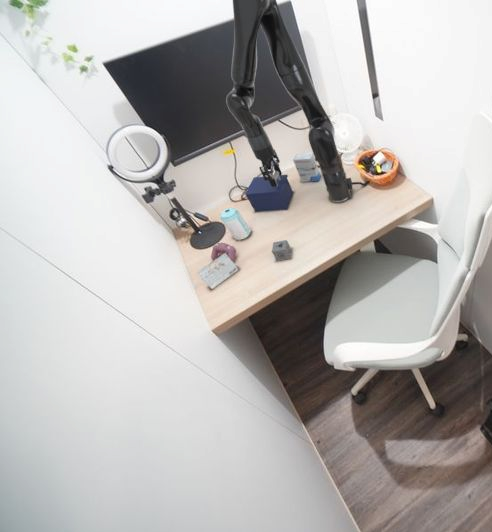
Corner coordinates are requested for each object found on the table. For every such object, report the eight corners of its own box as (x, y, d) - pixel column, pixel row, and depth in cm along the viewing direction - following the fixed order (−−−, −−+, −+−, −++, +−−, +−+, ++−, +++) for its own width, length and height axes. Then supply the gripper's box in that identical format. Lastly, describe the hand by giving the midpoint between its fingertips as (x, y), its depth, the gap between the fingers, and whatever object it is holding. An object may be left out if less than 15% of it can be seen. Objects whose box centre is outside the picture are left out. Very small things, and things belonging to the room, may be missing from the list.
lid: (288, 175, 140) (283, 165, 137) (281, 192, 133) (276, 182, 129) (254, 178, 142) (249, 169, 138) (245, 195, 134) (240, 185, 130)
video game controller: (240, 260, 124) (237, 244, 121) (230, 265, 120) (227, 247, 117) (220, 256, 127) (217, 239, 124) (210, 260, 123) (206, 243, 120)
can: (230, 239, 130) (214, 217, 121) (241, 227, 134) (226, 205, 125) (244, 241, 128) (229, 219, 119) (254, 230, 133) (240, 207, 123)
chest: (293, 192, 147) (286, 176, 141) (287, 209, 139) (279, 192, 133) (263, 195, 148) (254, 179, 142) (255, 212, 141) (246, 195, 134)
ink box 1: (208, 286, 115) (192, 269, 107) (235, 267, 120) (222, 249, 112) (212, 290, 113) (196, 272, 106) (239, 270, 118) (225, 252, 111)
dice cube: (290, 258, 120) (285, 249, 116) (277, 260, 120) (271, 251, 116) (291, 249, 123) (286, 239, 119) (278, 251, 123) (273, 242, 119)
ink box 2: (321, 175, 154) (313, 153, 145) (318, 181, 151) (310, 159, 142) (304, 175, 155) (295, 153, 146) (301, 181, 152) (292, 159, 143)
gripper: (264, 153, 118) (281, 189, 130) (274, 134, 127) (289, 170, 139) (245, 155, 118) (263, 191, 131) (256, 136, 128) (273, 171, 140)
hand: (277, 180), depth 135 cm, fingers open, 8 cm apart
